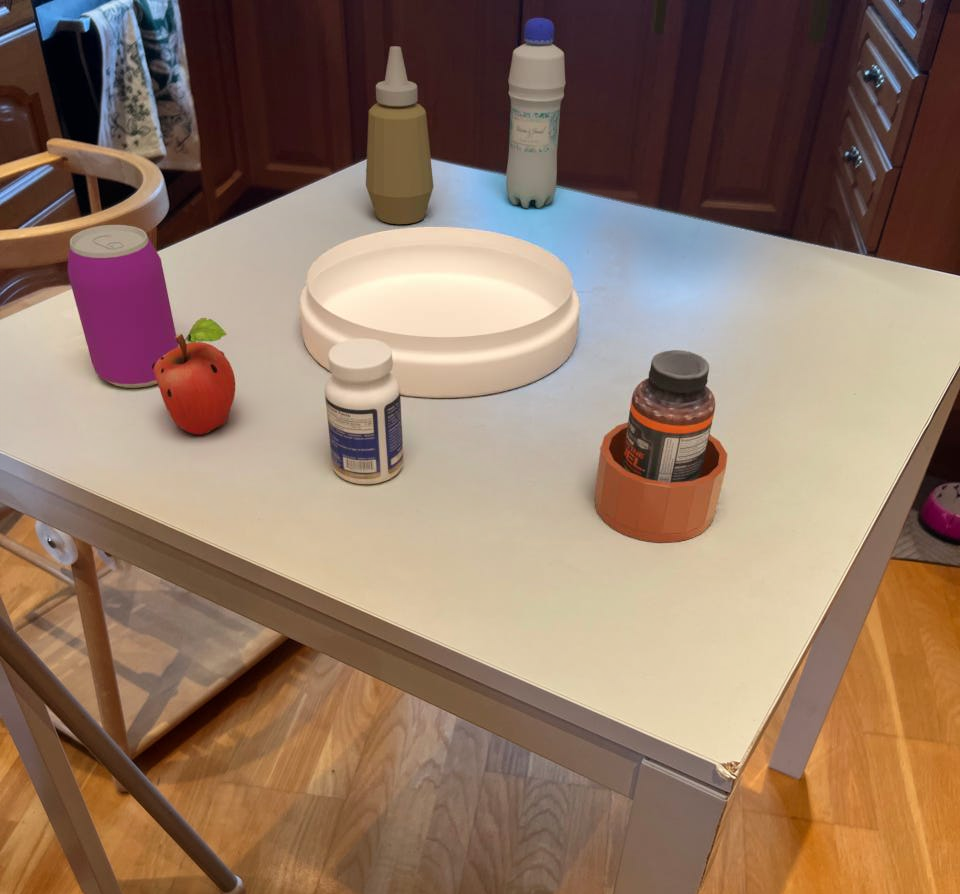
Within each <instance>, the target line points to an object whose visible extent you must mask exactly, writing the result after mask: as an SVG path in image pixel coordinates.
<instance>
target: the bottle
mask: <svg viewBox="0 0 960 894" xmlns="http://www.w3.org/2000/svg"><path fill="white" fill-rule="evenodd" d="M523 33H524V34H523V39H524V42H525V43H522V44H521V45H520V46H517V47H516V48H515V49H514V50H513V51H512V56H511V63H510V69H509V75H508V76H509V77H508V81H507V82H508V86H509V87H508V89H509V90H508V95H509V98H510V114H509V115H510V117H509V140H508V158H507V164H506V165H507V166H506V173H505V174H506V176H505V187H506V193H507V197H508V199H509V202H510V203H511V204H512V205H514V206H517V205H519V203H520V204H521V206H522V208H524V209H528V208H529V206H530V202H531V201H535V207H536V208H537V209H540V208H542V207H543V206H544V205H546V206H547V205H549V204H551V202H552V201H553V200H554V197H555V194H556V188H557V175H558V165H557V164H558V157H557V156H558V145H559V129H560V118H561V117H560V116H561V115H560V114H561V104H562V103H561V102H562V100H563V99H564V97H565V91H564V90H565V87H566V84H567V83H566V71H565V70H566V67H565V65H566V64H565V53H564V51H563V50H562V49H561V48H559V47H558V46H556V45H555V44H553V42H554V39H555V38H554V37H555V36H554V35H555V26H554V23H553V21H552V20H550V19H548V18H545V17H533V18H530V19H528V20H527V21H526V22H525V24H524V32H523Z"/></svg>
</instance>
